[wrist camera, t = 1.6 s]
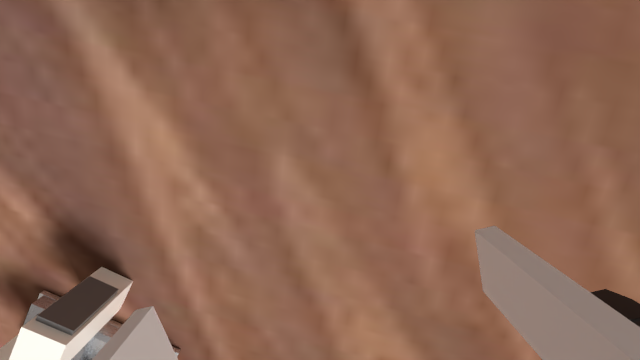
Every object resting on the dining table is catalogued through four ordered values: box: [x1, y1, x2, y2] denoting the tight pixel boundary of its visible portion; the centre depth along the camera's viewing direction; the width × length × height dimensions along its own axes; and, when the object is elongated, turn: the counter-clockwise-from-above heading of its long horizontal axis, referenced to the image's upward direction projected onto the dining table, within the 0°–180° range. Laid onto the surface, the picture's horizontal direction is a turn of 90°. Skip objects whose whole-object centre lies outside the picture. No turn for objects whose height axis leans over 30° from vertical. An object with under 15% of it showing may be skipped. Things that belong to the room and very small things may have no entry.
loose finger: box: [9, 267, 133, 360], centre depth 32 cm, size 4×5×10 cm
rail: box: [24, 290, 180, 360], centre depth 37 cm, size 18×8×2 cm, turn 60°
